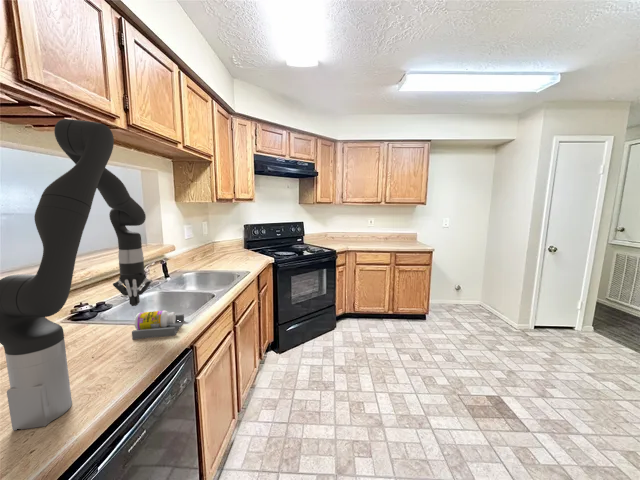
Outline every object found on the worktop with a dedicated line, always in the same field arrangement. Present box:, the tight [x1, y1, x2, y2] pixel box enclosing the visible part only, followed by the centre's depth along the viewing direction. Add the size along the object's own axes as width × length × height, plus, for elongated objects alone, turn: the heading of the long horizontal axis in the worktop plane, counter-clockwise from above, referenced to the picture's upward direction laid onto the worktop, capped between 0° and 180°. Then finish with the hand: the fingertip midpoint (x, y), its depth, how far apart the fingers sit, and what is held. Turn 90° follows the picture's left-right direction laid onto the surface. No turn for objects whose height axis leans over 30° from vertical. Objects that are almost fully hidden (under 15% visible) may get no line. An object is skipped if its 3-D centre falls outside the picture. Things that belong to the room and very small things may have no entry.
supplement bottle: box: [134, 310, 177, 330], centre depth 105 cm, size 7×7×13 cm
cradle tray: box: [131, 313, 185, 340], centre depth 105 cm, size 13×14×3 cm
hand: (135, 305), depth 102 cm, fingers closed
